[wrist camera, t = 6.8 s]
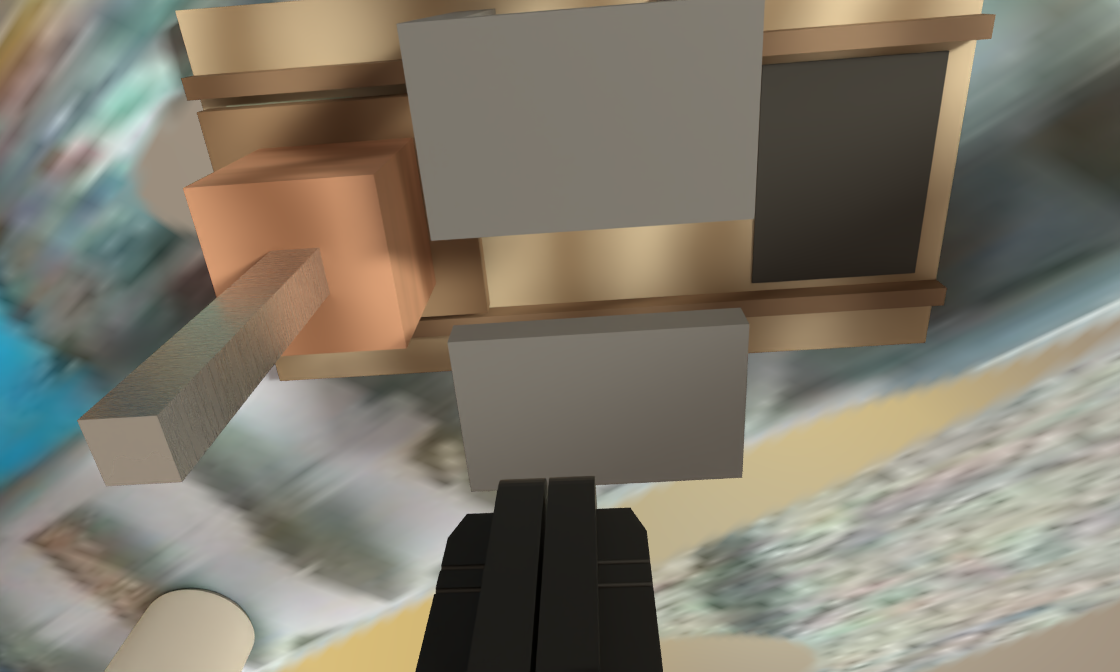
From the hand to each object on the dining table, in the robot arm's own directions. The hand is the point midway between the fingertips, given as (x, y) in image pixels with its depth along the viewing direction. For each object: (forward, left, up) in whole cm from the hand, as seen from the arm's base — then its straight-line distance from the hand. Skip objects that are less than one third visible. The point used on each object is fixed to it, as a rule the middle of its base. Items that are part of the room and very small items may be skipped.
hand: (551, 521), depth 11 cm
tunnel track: (-1, 0, -22) cm, 22 cm away
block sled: (+9, 0, -20) cm, 22 cm away
